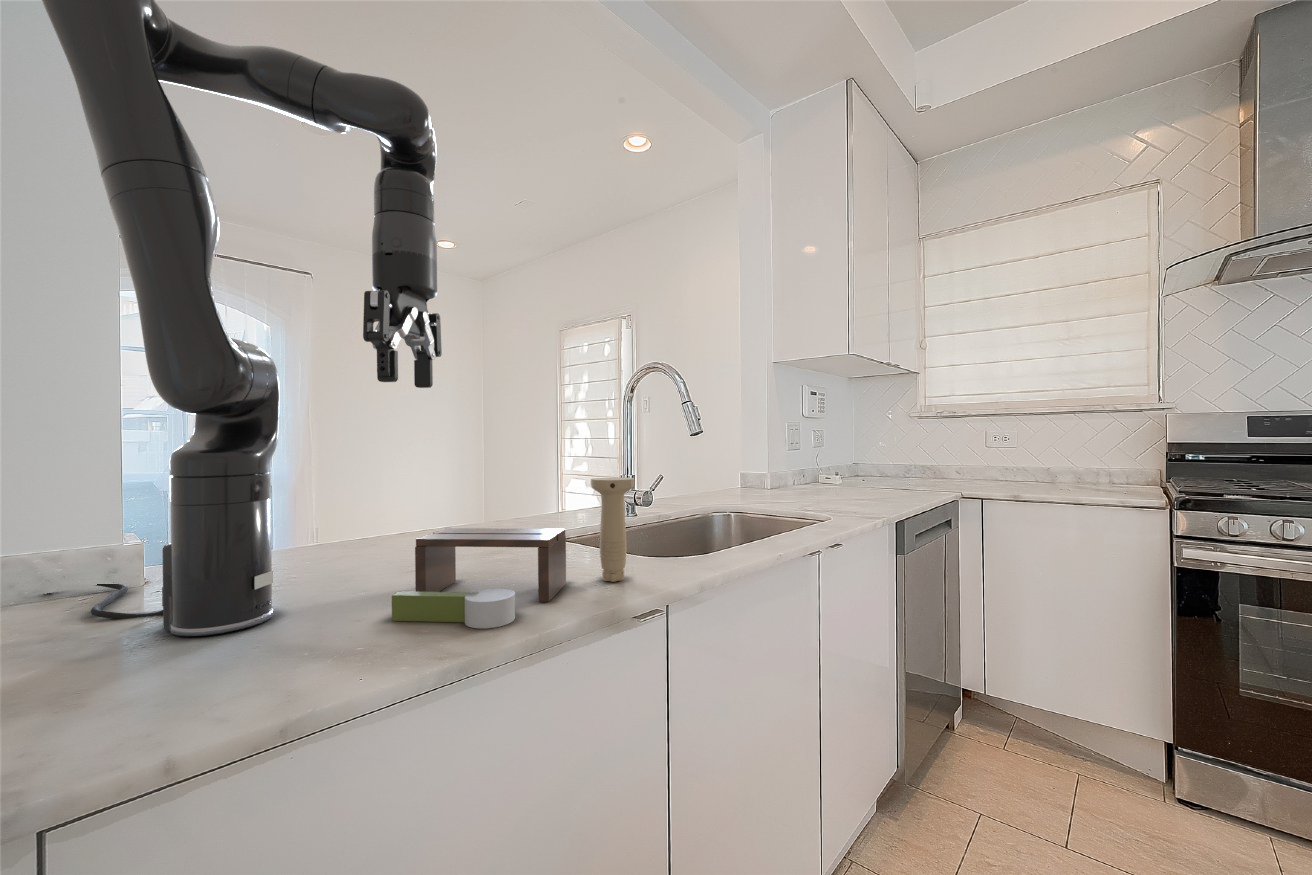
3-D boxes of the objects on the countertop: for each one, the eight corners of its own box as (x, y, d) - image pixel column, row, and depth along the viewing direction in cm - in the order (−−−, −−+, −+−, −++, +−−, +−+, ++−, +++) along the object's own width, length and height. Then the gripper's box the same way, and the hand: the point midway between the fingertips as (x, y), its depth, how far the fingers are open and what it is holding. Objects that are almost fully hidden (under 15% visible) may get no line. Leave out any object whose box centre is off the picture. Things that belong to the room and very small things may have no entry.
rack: (415, 599, 74) (414, 539, 74) (446, 581, 83) (446, 527, 83) (548, 602, 72) (548, 540, 72) (566, 583, 81) (565, 528, 81)
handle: (635, 583, 81) (634, 479, 81) (590, 584, 80) (590, 480, 80) (634, 575, 86) (633, 477, 86) (592, 576, 85) (591, 477, 85)
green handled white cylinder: (382, 626, 63) (382, 600, 63) (408, 610, 69) (408, 586, 69) (504, 629, 62) (504, 602, 62) (521, 613, 68) (521, 588, 68)
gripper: (406, 274, 79) (408, 390, 79) (340, 239, 64) (342, 380, 64) (458, 272, 78) (459, 389, 78) (403, 236, 64) (404, 379, 64)
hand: (406, 385), depth 71 cm, fingers open, 8 cm apart
